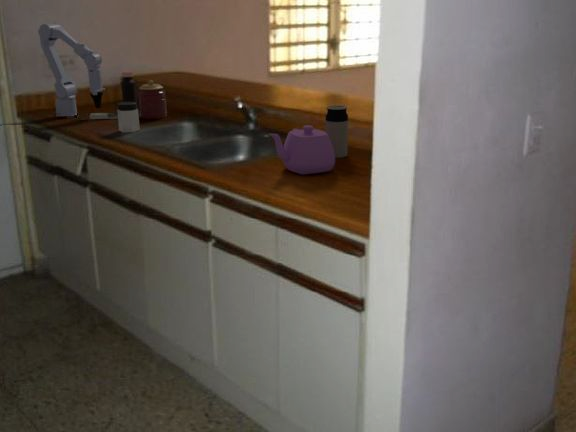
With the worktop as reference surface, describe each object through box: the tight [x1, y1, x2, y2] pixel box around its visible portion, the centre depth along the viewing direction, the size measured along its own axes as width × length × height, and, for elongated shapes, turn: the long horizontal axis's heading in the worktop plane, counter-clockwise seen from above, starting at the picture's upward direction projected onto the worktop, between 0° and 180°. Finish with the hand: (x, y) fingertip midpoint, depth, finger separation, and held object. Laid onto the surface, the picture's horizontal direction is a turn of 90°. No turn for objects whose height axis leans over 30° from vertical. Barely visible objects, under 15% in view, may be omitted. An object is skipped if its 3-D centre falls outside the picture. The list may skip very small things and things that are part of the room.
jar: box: [117, 101, 141, 134], centre depth 294 cm, size 9×8×12 cm
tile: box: [89, 112, 109, 119], centre depth 325 cm, size 2×8×6 cm
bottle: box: [120, 71, 138, 104], centre depth 336 cm, size 7×7×20 cm
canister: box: [137, 79, 168, 120], centre depth 324 cm, size 13×13×18 cm
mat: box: [105, 113, 118, 120], centre depth 328 cm, size 18×14×1 cm
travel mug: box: [325, 104, 349, 159], centre depth 245 cm, size 8×8×18 cm
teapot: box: [268, 124, 336, 176], centre depth 227 cm, size 23×21×15 cm
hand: (98, 108), depth 325 cm, fingers closed
